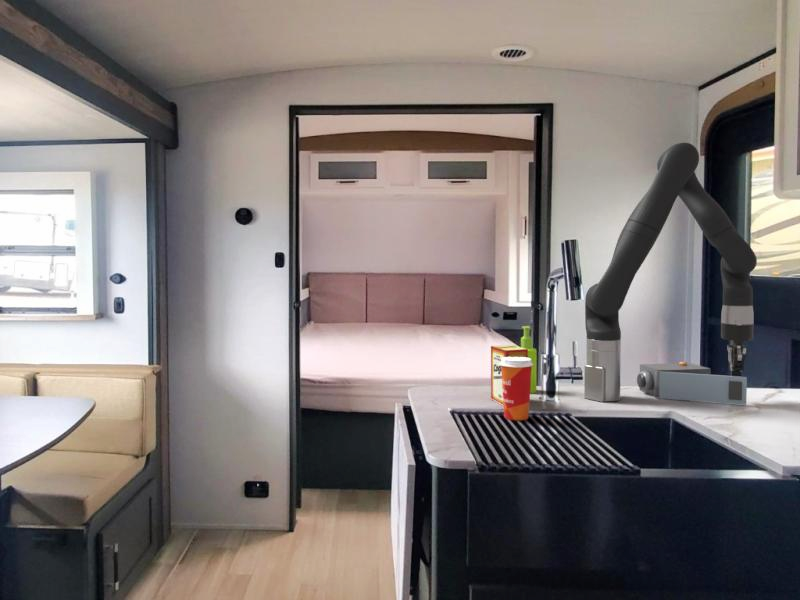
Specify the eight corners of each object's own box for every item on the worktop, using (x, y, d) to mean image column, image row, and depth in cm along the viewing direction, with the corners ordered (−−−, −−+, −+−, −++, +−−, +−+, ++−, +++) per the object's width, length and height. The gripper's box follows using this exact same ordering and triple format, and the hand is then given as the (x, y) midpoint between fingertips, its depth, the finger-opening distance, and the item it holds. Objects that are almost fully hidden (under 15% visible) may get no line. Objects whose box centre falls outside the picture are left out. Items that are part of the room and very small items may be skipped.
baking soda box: (527, 405, 150) (527, 347, 149) (506, 407, 148) (506, 349, 148) (511, 398, 159) (511, 343, 158) (491, 399, 158) (490, 344, 157)
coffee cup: (499, 412, 143) (499, 355, 142) (531, 413, 142) (531, 356, 141) (499, 421, 135) (499, 361, 134) (534, 422, 134) (534, 361, 133)
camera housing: (710, 395, 159) (710, 365, 158) (649, 398, 157) (649, 367, 157) (689, 388, 169) (689, 360, 168) (631, 390, 167) (632, 362, 167)
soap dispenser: (534, 388, 171) (534, 325, 170) (537, 393, 164) (537, 327, 163) (515, 388, 172) (515, 325, 171) (518, 393, 165) (517, 327, 164)
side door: (746, 405, 146) (747, 377, 146) (654, 397, 156) (654, 371, 156) (745, 403, 147) (746, 376, 147) (654, 396, 157) (655, 370, 157)
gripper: (718, 319, 156) (717, 379, 158) (724, 323, 144) (723, 388, 145) (749, 319, 153) (747, 380, 154) (757, 324, 141) (756, 390, 142)
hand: (735, 384), depth 150 cm, fingers closed
